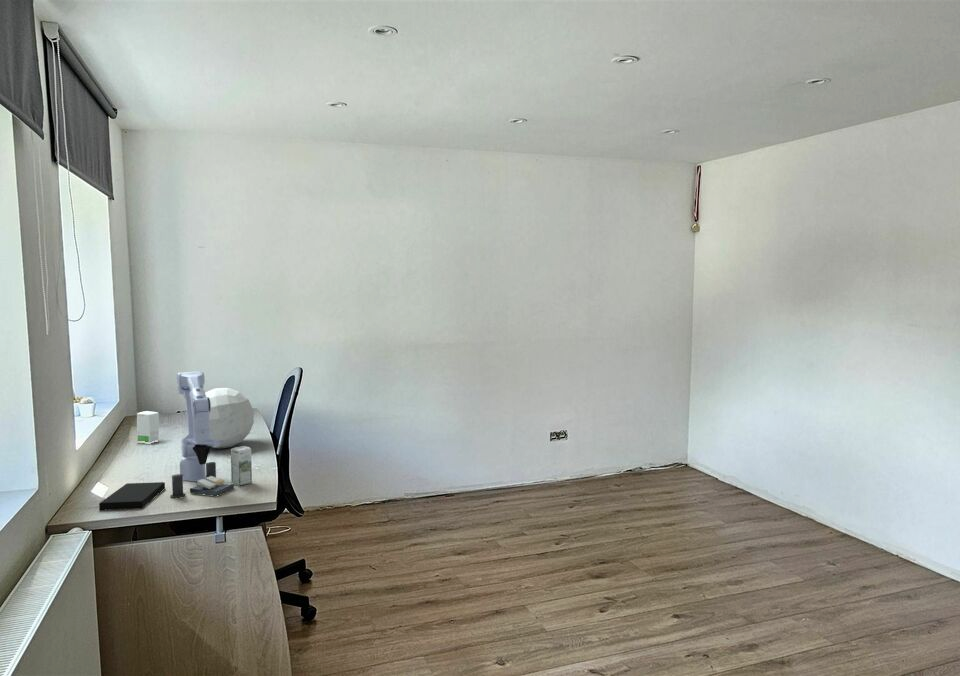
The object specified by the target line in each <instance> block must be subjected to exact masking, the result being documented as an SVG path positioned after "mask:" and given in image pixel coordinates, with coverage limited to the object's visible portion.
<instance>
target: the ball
mask: <svg viewBox="0 0 960 676" xmlns="http://www.w3.org/2000/svg"><path fill="white" fill-rule="evenodd" d="M205 394H206V397H209V398H210V402H211V410H210V412H209V411H208V412H209V422H210V439H211V440H215V441H219V444H220V446H218V447H214V446H212V448H211V449H215V448H218V449H228V448H227V447H230V448H231V447H235V446H236V445H238V444H240V443H242V442H243V441H244V439H246V438H247V437H248V435H249V434H250V433H251V430H252V427H253V425H254V423H255V422H254V421H255V419H254V415H255V414H254V413H255V411H254V410H255V409H254V408H253V406H252V404H251V402H250V400H249V399H248V398H247V397H246V396H245V395H244V394H243V393H242V392H241V391H239V390H235V389H233V388H230V387H216V388H213V389H210V390H208V391H205Z"/></svg>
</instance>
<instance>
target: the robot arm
mask: <svg viewBox="0 0 960 676" xmlns="http://www.w3.org/2000/svg"><path fill="white" fill-rule="evenodd" d="M176 376H177V377H176V380H177V390H178V394H180V395H183V397H184V403H185V412H186V424H187V425H186V426H187V434H186V435H184V437H182V440H181V456H182V458H181V460H180V462H179V474H182V475H183V481H187V482H196V481H199V480H201V479H204V478H205V479H206V463H207V460H208V457H209V454H210V452H211V449H213V448H212V446H214V447H218V446H220V444H219V441H215V440H211V439H210V422H209V412H210V410H211V402H210V398H209V397H206V394H205V393H206V391H205V389H204V387H205V373H204V371H202V370H200V371H199V370H198V371H184V372H178V373H177V375H176ZM208 411H209V412H208Z"/></svg>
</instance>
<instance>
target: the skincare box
mask: <svg viewBox="0 0 960 676" xmlns="http://www.w3.org/2000/svg"><path fill="white" fill-rule="evenodd" d="M159 415H160V412H156V411H149V410H145V411H141V412H137V413H136V442H137V441H145V442H152V441H155V440H158V439H159V440H160V437H159V436H160V433H159V432H160V430H159V429H160V425H159V424H160V421H159V419H160V416H159Z"/></svg>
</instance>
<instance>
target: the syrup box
mask: <svg viewBox="0 0 960 676" xmlns="http://www.w3.org/2000/svg"><path fill="white" fill-rule="evenodd" d="M230 460H231V462H230V466H231V467H230V469H231V475H230V476H231V484H232V483H233V484H234V486H238V487H241V486H245V485H248V483H249V484H252V481H253V480H252V478H253V477H252V476H253V475H252V473H253V472H252V471H253V470H252V448H251V447H249V446H246V445H242V446H237V447H233V448H231V449H230ZM244 484H245V485H244ZM240 485H241V486H240Z"/></svg>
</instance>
